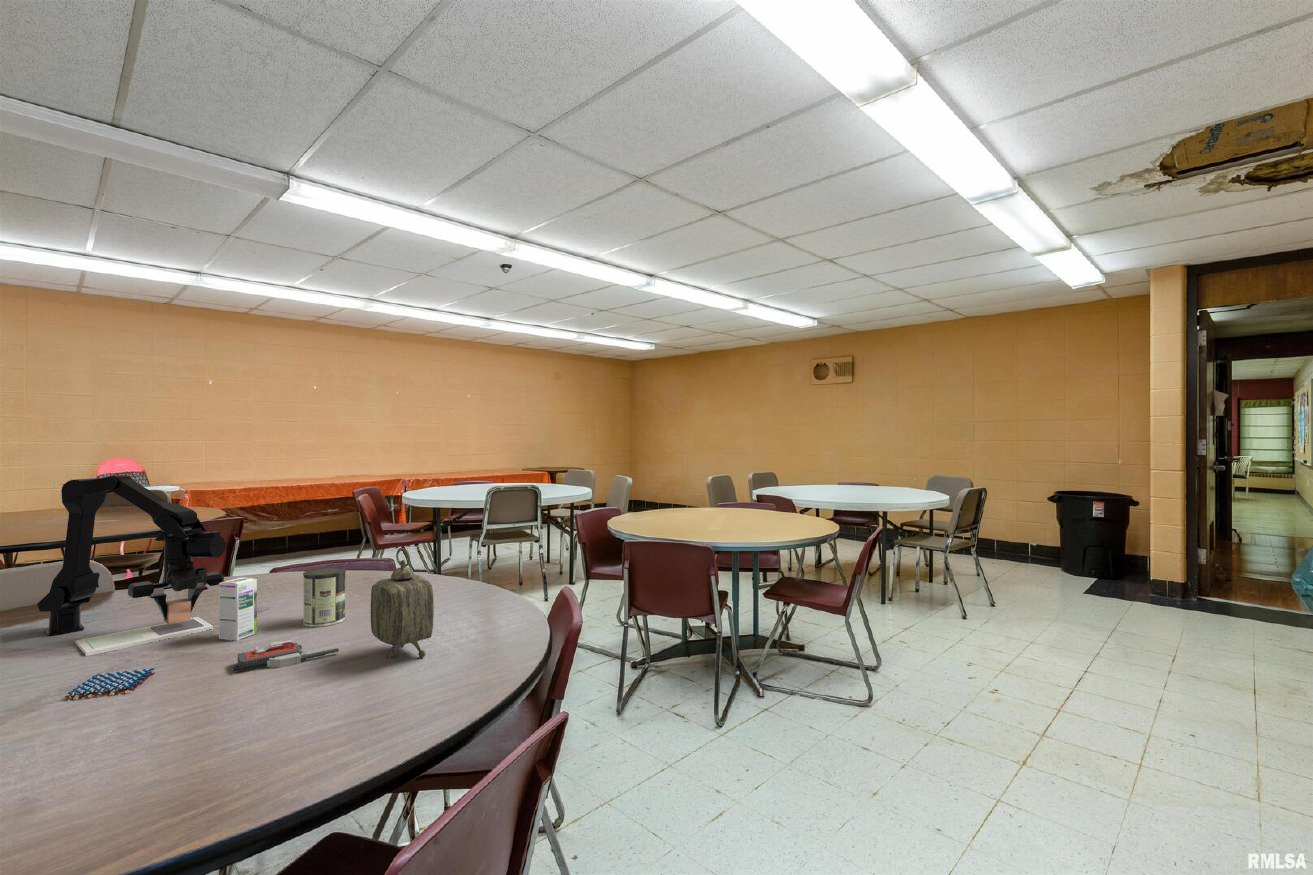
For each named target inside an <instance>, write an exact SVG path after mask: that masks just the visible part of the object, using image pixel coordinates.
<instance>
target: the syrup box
mask: <svg viewBox="0 0 1313 875" xmlns="http://www.w3.org/2000/svg"><path fill="white" fill-rule="evenodd" d="M256 634H258V580H257V578H255V577H250V576H246V577H236V578H234V579H229V580H226V581H225V580H224V582H221V583H219V585H218V639H220V640H222V639H225V640H224V641H232V640H233V642H234V641H235V642H238V641H240V640H243V639H245V638H248V637H250V636H254V635H256Z"/></svg>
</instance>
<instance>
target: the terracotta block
mask: <svg viewBox="0 0 1313 875" xmlns="http://www.w3.org/2000/svg"><path fill="white" fill-rule="evenodd" d="M166 605H167V619H164V618H163V622H164V623H167V624H174V623H180V622H185V621H190V620H191V618H192V612H191V601H190V600H188V598H185V597H184V598H180V599H174V600H169V601H168V600H166Z"/></svg>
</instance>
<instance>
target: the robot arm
mask: <svg viewBox="0 0 1313 875" xmlns="http://www.w3.org/2000/svg"><path fill="white" fill-rule="evenodd" d="M110 493H113V494H115V495H117V496H119V497H120V498H121V499H124V500H125V501H127V502H129V503H130V504H131V505H133V506H134V507H136V508H138V509H139V510H141V511H143V512H145V513H146V514H147V515H149V516H150V517H151V519H152V522H153V524H154V525H156V527H158V528H159V529H160V530H161V531H162V533H161V534H160V535H159V536H157V537H156V538H155V539H154V540H155V541H156V542H163V547H164V548H163V578H162V581H163V582H157V583H153V582H152V581H149V580H148V581H140V582H133V583H131V584H129V585H128V587H127V595H128V596H129V597H130V598H132V599H139V598H145V597H146V598H147V597H148V598H150V599H153V600H154V601H155V603H156V605H157V606H158V608H159V610H160V613H161V615H162V617H163V620H164V619H167V605H166V602H167V594H166V593H165V590H171V589H172V590H173V591H174V592H183V590H184V591H185V590H187V599H188V600H190V601H191V613H192V611H193V609H194V607H195V605H196V603H197V600H198V598H199V597H200V595H201V594H202V593H203V592H204V591H207V590H208V589H209V587H208V586H210V587H214V586H219V583H221V582H225V577H224V575H223V574H222V573H221V572H218V571H209V572H207V571H208V569H207V568H206V567H200V568H199V567H198V568H195V567H194V561H193V558H195V559H197V558H198V559H200V558H203V559H204V558H207V559H208V558H209V559H210V558H211V559H212V558H213V559H214V558H220V557H221V556H222V555H223V554H224V553H225V552H226V547H227V543H226V541H225V539H224V537H223V536H222V535H221V531H218V530H217V531H216V530H215V531H208V529H207V528H206V526H204V524H203V523H202V522H201V520H200V519H199V517H198V514H197V512H196V511H195V510H194V509H192V508H189V507H186V506H184V505H182V504H179V503H177V504H176V503H172V502H170V501H168V500H165V499H164V498H163V497H161V496H159V495H158V494H156V493H154V492H153V491H152V490H150V489H148V488H147V487H145V486H143V485H142V484H140V483H138V482H136V481H135V480H134V479H133V478H132V477H131V476H129V475H127V474H118V475H115V474H113V475H108V476H105V477H101V478H99V477H94V478H78V479H70V480H68V481H66V482H65V483H63V485H62V487H61V502H62V504H63V506H64V507H65V509H66V511H67V512H68V516H67V517H68V518H67V527H66V535H65V542H64V543H65V544H64V552H63V562H62V567H61V569H60V570H59V572H57V574H56V576H54V578H53V579H52V583H51V586H50V589H49V592H48V593H47V594H46V595H45V596H44V597H43V598H42V599H41V600H39V601H38V602H37V605H36V606H37V608H38V610H39V612H48V628H44V632H45V633H46V634H47V636H49V637H50V636H56V635H61V634H66V633H71V632H78V631H81V630H82V631H83V630H84V629H85V626H84V625H83V624H82V623H81V612H82V611H81V610H82V608H81V606H82V605H83V604H86V603H87V604H88V603H90V601H91V599H92V596H93V595H94V594H95V593H96V591H97V588H100V585H99V580H100V572H94V570H93V569H92V568H91V565H90V562H91V554H92V546H93V538H94V529H95V519H96V513H97V511H98V510H99V509H100V508H101V507H102V506H103V503H105V500H106V499H107V498H106V497H107V494H110Z"/></svg>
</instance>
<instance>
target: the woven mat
mask: <svg viewBox="0 0 1313 875" xmlns="http://www.w3.org/2000/svg"><path fill="white" fill-rule="evenodd" d="M155 674H156V672H155V667H153V668H152V667H151V668H150V669H149V668H143V669H139V670H137V669H134V670H125V671H119V670H118V671H117V672H116V671H115V672H112V673H111V672H105V673H97V674H95V675H92V677H91V678H87V680H86V681H84V682H82V684H81V685H77V687H76V688H72V691H71V690H70V691H68V692H67V695H65V696H64V698H65V699H67V698H68V699H67V700H66V702H69V701H71V700H74V701H78V700H79V698H80V701H81V700H85V699H87V698H88V699H92V698H94V697H95V698H100V697H101V696H103V697H108V696H114V695H116V694H117V696H120V695H121V694H123V693H124V694H125V695H128V694H130V693H132V692H133V691H135V690H136V688H138V687H139V686H140V685H142V684H144V683H145V681H147V680H148V679H149V678H150V677H152V676H153V675H155ZM72 698H73V699H72Z"/></svg>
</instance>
